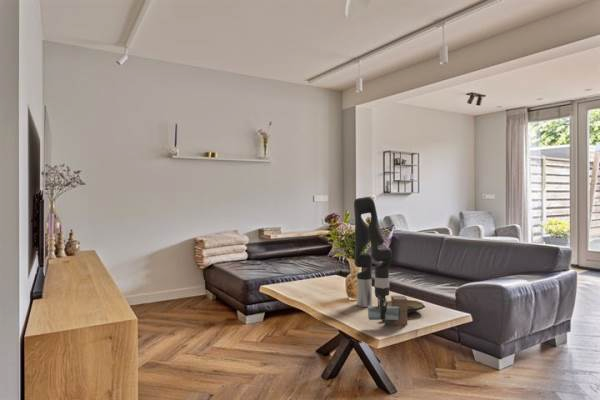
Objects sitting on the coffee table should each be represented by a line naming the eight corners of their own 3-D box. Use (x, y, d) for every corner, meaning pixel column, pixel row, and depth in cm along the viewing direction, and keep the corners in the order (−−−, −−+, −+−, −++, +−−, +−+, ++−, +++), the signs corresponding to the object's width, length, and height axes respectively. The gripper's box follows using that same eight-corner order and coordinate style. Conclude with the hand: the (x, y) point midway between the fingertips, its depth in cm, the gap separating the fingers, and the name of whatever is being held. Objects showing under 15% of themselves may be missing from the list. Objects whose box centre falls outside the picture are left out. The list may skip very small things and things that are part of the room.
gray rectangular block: (368, 317, 209) (368, 306, 209) (398, 317, 209) (398, 306, 209) (369, 319, 206) (369, 308, 205) (400, 319, 205) (400, 308, 205)
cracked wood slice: (405, 321, 218) (405, 307, 218) (369, 307, 244) (369, 295, 244) (433, 314, 230) (433, 301, 229) (396, 301, 255) (396, 290, 255)
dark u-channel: (382, 320, 219) (382, 295, 219) (403, 320, 219) (403, 295, 219) (385, 325, 211) (384, 299, 211) (407, 325, 211) (407, 299, 211)
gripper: (372, 282, 214) (372, 313, 214) (377, 289, 200) (377, 322, 200) (386, 282, 214) (386, 313, 214) (392, 288, 200) (392, 322, 200)
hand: (382, 317), depth 207 cm, fingers closed on gray rectangular block, 3 cm apart
